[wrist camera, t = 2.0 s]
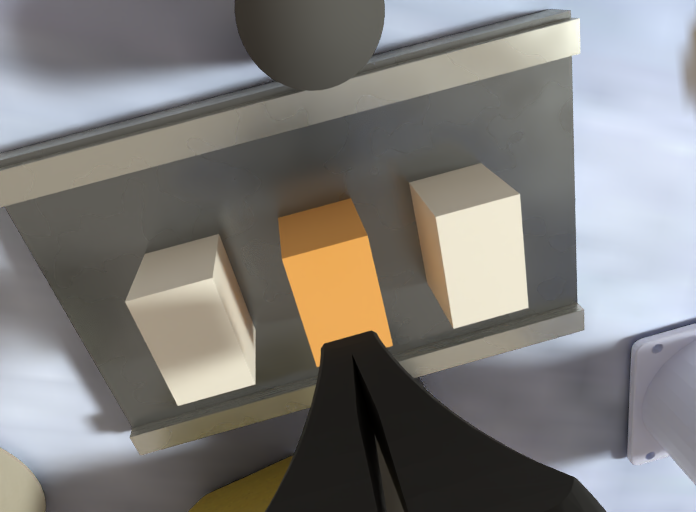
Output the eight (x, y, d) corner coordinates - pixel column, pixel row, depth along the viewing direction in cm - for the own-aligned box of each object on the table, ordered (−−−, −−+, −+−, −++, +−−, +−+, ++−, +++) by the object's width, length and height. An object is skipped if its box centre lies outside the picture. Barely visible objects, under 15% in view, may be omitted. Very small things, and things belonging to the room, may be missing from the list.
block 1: (218, 234, 18) (212, 277, 15) (255, 330, 20) (255, 384, 17) (144, 253, 18) (125, 301, 15) (188, 348, 19) (177, 405, 17)
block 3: (481, 163, 18) (519, 193, 15) (491, 264, 20) (528, 307, 17) (409, 182, 18) (435, 217, 15) (426, 282, 20) (453, 328, 17)
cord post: (329, -66, 15) (368, -92, 10) (352, 43, 17) (396, 71, 12) (228, -40, 15) (213, -53, 10) (259, 67, 17) (260, 106, 11)
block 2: (351, 198, 18) (367, 235, 15) (374, 297, 20) (393, 345, 17) (277, 217, 18) (282, 259, 15) (308, 315, 20) (316, 367, 17)
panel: (551, 8, 17) (579, 11, 16) (562, 311, 23) (584, 334, 21) (-2, 153, 17) (-28, 170, 15) (150, 427, 22) (142, 459, 21)
